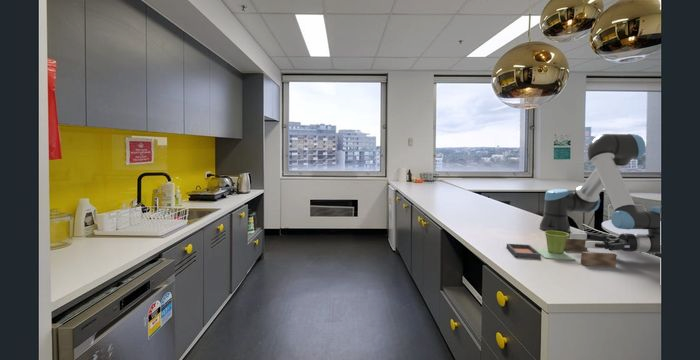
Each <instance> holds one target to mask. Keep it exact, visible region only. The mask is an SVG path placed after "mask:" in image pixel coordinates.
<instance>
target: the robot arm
mask: <svg viewBox="0 0 700 360" xmlns="http://www.w3.org/2000/svg"><path fill="white" fill-rule="evenodd" d="M645 151H646V142H645V140H644V139H643V137H642V136H641V135H639V134H634V133H633V134H632V133H627V134H626V133H624V134H623V133H622V134H621V133H604V134H600V135H597V136H596V137H594V138H593V139H592V141H591V142H590V143H589V144H588V147H587V158H588V160H589V161H588V162H589V163H590V164H591V165H593V166H594V169H593V171H592V172H591V174H590V175H589V177H587V179H586V180H585V182H584V183H583V184H582V185H579V186H578V187H576V188H575V190H574V191H570V189H565V188H554V189H549V190H547V191H546V192H545V194H544V204H543V205H544V208H543V217H542V219H541V220H540V223H539V229H540V230H541V231H544V232H545V231H560V232H565V233H568V234H569V238H570V239H583V240H588V241H585V247H586V248H587V249H602V250H608V251H609V252H610V251H620V250H621V251H623V252H630V253H631V252H633V253H634V252H637V253H639V254H641V253H650V254H651V253H653V254H654V253H655V254H661V253H660V206H659V205H654V206H651V207H650V209H649V211H648V210H647V211H646V210H645V211H644V210H643V211H641V210H638V208H637V206H636V203H634V200H633V198H632V196H631V194H630V191H629V189H628V187H627V185H626V183H625V181H624V178H623V176H622V175H621V172H620V169H621V167H626V166H627V165H629V164H630V162H631V161H632V160H633V159H634V160H637V159H641V158H642V157H643V156H644V154H645V153H646V152H645ZM603 189H604V191H605V193H606V196H607V198H608V200H609V202H610V204H611V206H612V208H613V212H612V214H611V216H610V218H611V220H610V222H611V224H612V225H613V227H615V228H616V229H619V230H620V229H622V230H629V231H630V230H647V232H648V233H646V234H645V233H624V232H623V233H621V234H620V235H619V236H616V235H611V234H603V233H595V232H589V231H588V232H587V231H586V232H585V233H583V232H571V225H570V223H569V219H568V213H584V214H585V213H593V212H595V211H598V209H599V207H600V203H601V199H600V198H601V197H600V194H601V192H602V191H603Z"/></svg>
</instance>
